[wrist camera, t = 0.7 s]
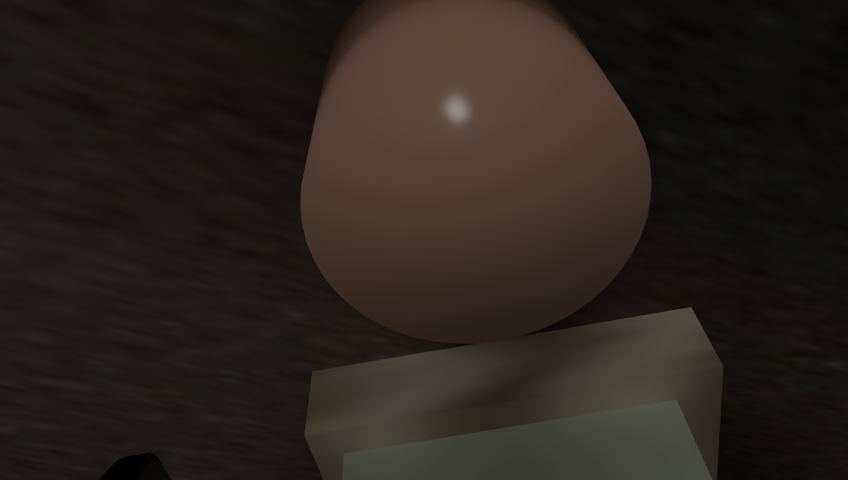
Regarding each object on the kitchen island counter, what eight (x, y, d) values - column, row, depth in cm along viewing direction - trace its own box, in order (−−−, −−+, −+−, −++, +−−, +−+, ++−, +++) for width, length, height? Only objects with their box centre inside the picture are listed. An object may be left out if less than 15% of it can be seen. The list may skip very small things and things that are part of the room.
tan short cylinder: (576, -66, 15) (648, 5, 10) (592, 186, 18) (653, 315, 14) (290, -6, 15) (252, 84, 11) (358, 228, 18) (349, 366, 14)
